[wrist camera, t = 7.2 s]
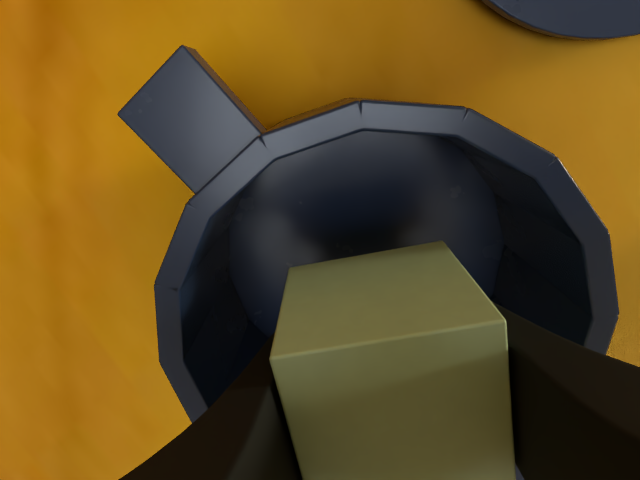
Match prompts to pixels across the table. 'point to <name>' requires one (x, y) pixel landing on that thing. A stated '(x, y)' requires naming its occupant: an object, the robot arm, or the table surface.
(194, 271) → the pot
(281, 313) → the block
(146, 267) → the table surface
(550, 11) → the lid
